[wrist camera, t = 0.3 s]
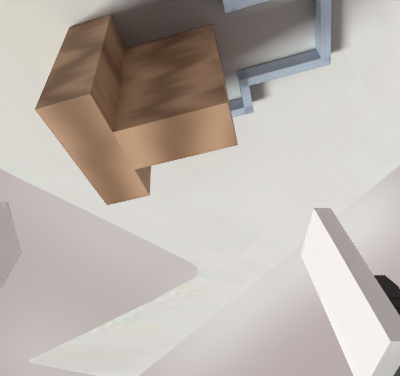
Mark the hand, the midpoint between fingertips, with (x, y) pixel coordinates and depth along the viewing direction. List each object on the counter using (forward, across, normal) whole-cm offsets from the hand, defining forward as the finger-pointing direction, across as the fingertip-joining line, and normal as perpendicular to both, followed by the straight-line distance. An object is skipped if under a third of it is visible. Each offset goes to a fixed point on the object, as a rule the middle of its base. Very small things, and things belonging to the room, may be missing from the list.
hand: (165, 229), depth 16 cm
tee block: (+28, -2, +1) cm, 29 cm away
